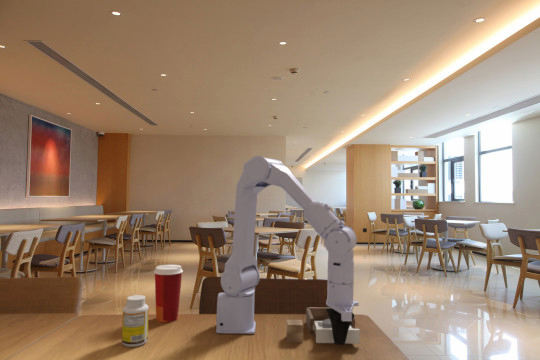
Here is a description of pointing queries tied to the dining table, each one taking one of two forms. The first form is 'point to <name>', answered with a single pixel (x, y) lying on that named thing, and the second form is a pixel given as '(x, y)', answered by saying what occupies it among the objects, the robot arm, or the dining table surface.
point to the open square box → (318, 317)
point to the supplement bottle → (135, 321)
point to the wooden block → (295, 331)
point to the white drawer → (327, 336)
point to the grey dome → (326, 323)
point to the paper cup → (167, 292)
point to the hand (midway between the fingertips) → (339, 343)
